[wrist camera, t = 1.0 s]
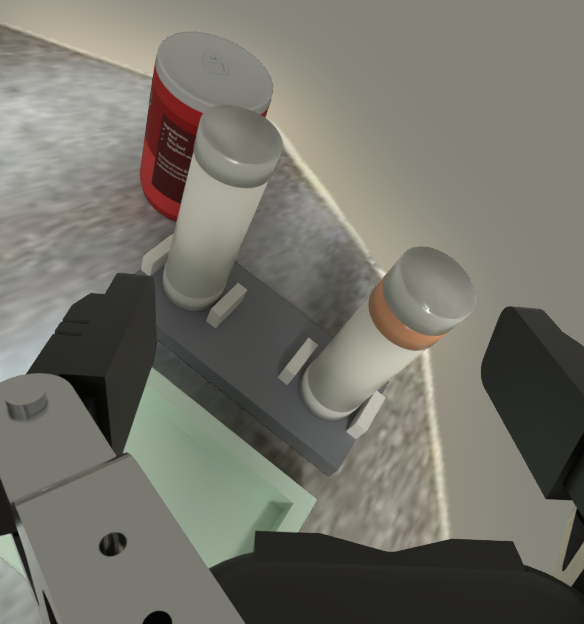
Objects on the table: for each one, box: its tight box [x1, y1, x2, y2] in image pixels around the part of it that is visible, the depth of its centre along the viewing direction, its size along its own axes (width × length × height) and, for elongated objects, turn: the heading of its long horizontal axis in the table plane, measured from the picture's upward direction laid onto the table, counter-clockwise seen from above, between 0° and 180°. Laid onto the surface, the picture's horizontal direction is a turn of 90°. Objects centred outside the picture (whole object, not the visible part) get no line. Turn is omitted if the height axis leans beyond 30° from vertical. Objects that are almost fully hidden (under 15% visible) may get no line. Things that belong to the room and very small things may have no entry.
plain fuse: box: [161, 105, 283, 312], centre depth 29 cm, size 4×4×13 cm
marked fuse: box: [298, 247, 476, 422], centre depth 28 cm, size 4×4×13 cm
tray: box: [0, 367, 317, 578], centre depth 26 cm, size 14×11×3 cm
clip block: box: [136, 233, 389, 476], centre depth 34 cm, size 18×8×3 cm, turn 57°
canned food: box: [140, 32, 273, 222], centre depth 37 cm, size 8×8×11 cm
